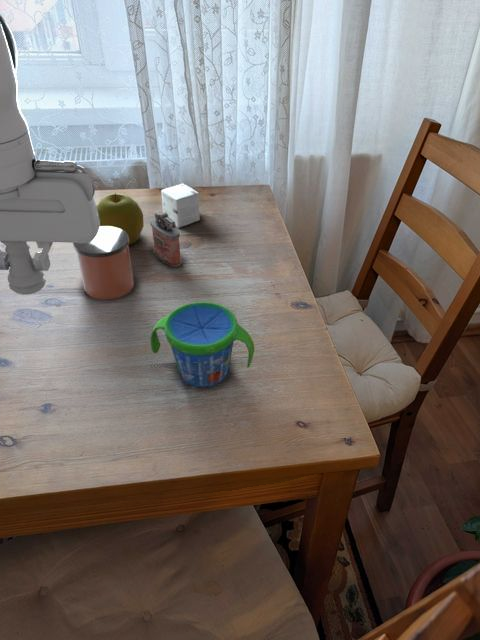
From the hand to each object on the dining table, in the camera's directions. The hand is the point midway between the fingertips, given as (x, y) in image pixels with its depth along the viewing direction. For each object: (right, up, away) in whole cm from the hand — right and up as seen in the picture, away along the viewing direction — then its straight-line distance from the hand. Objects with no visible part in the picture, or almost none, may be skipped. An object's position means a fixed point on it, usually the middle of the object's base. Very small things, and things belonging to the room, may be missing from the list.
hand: (23, 268), depth 65 cm
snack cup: (+21, -14, +17) cm, 30 cm away
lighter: (+11, +8, +41) cm, 43 cm away
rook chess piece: (0, -2, +2) cm, 3 cm away
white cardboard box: (+12, +19, +53) cm, 57 cm away
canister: (+1, +1, +33) cm, 33 cm away
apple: (0, +12, +45) cm, 47 cm away
